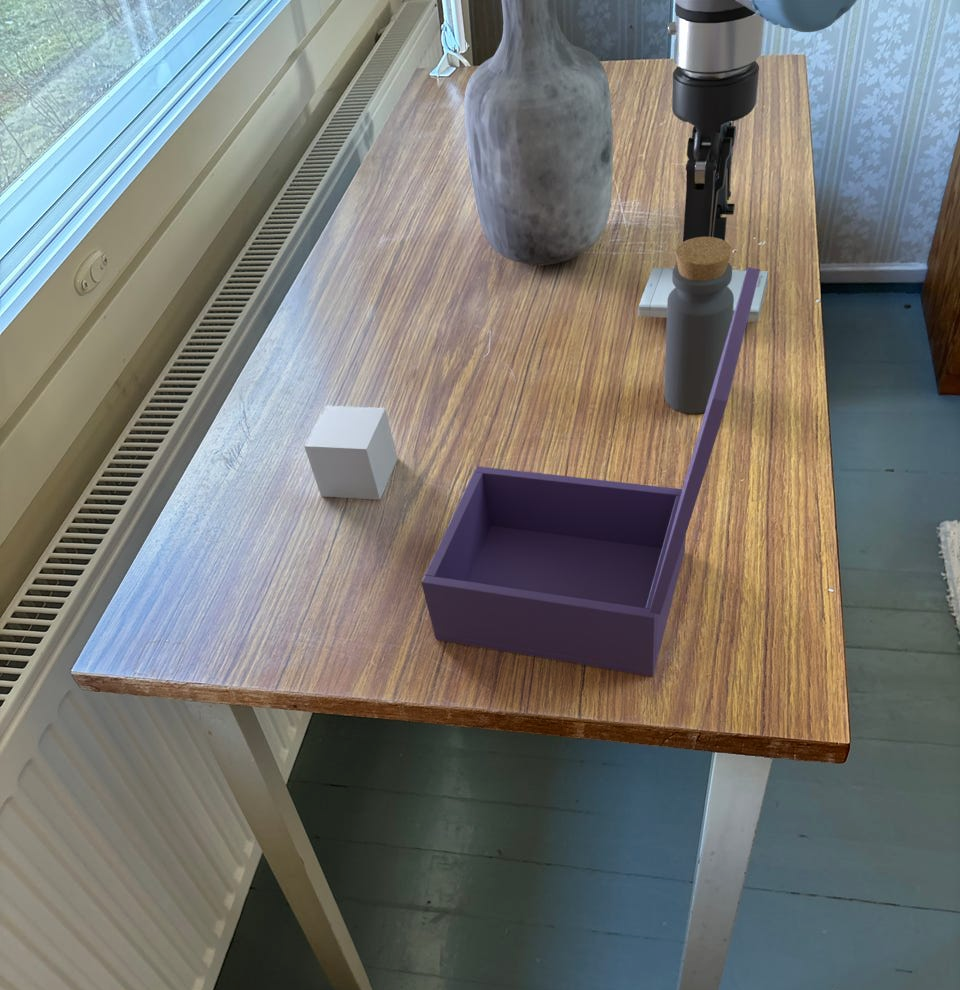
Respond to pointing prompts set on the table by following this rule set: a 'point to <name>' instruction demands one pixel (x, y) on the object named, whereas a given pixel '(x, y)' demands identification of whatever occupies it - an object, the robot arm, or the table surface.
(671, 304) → the bottle
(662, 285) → the hard drive
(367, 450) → the white cube
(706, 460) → the lid
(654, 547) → the box
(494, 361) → the table surface
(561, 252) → the vase
